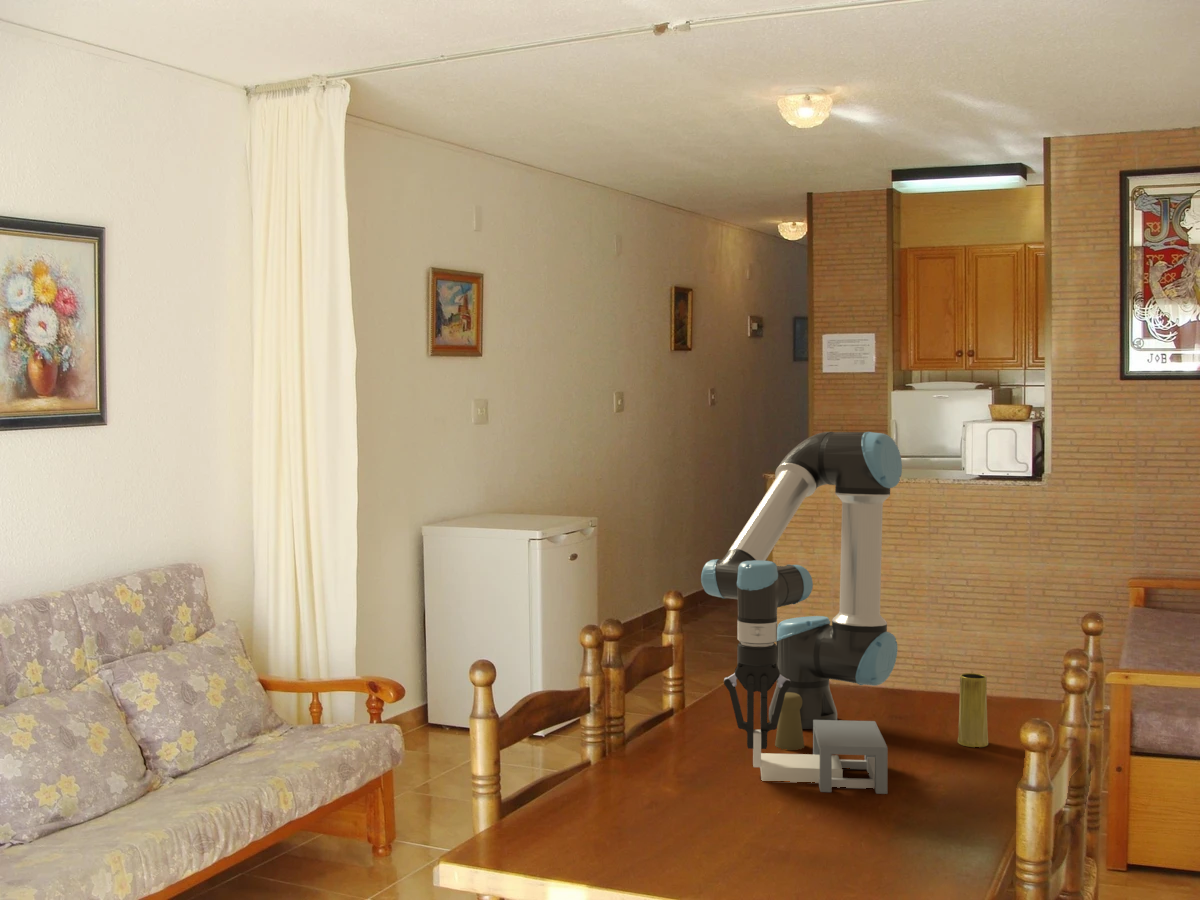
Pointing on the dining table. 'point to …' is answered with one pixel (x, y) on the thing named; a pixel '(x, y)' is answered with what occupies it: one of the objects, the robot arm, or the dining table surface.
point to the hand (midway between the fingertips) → (757, 765)
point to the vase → (973, 710)
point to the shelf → (851, 753)
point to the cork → (790, 723)
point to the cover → (795, 767)
